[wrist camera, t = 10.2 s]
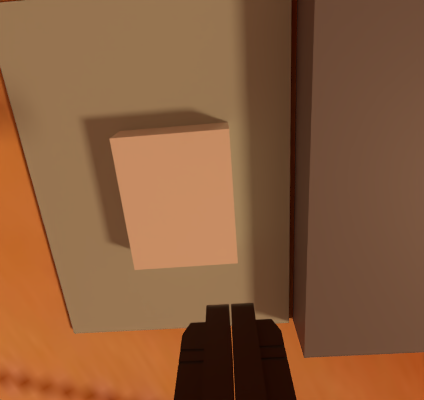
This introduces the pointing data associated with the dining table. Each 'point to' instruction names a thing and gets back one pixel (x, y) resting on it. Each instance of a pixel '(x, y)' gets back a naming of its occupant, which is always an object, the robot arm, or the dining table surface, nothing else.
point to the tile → (177, 195)
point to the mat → (143, 119)
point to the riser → (359, 177)
